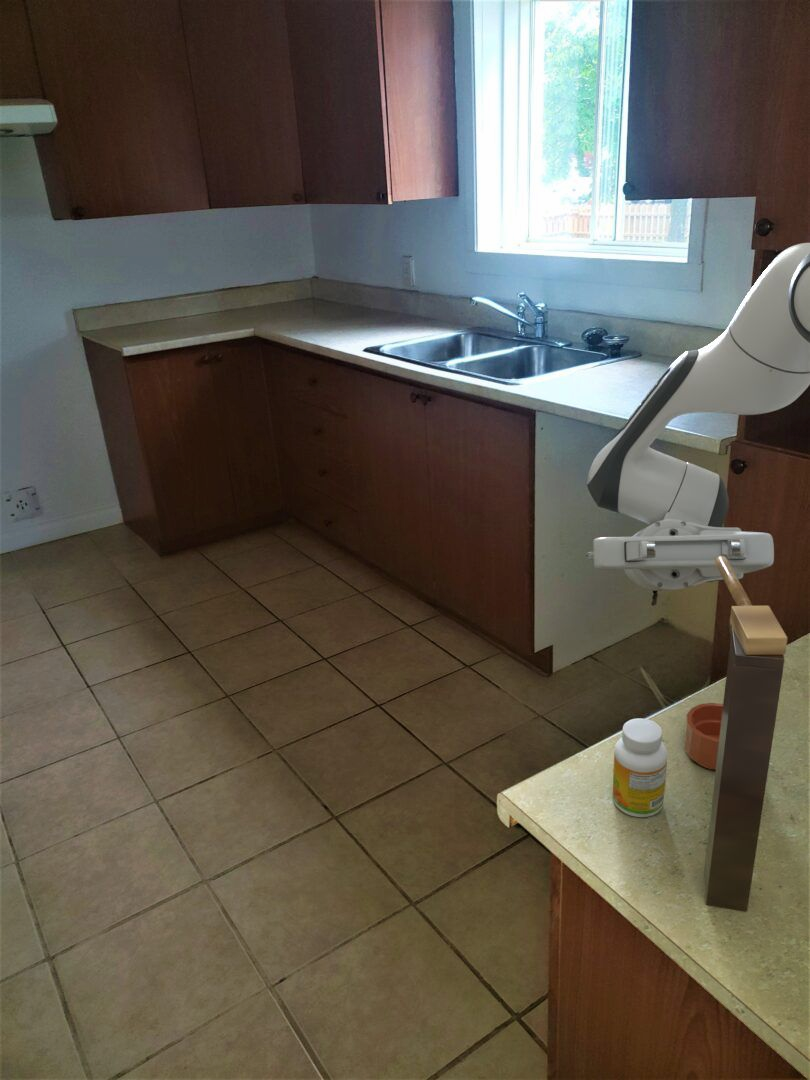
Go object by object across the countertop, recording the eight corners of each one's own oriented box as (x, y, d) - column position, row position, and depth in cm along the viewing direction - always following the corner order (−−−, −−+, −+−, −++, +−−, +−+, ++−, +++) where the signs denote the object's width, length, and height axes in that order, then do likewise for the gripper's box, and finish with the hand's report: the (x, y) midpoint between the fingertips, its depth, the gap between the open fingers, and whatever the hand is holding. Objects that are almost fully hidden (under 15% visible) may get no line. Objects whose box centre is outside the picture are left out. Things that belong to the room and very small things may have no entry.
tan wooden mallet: (785, 655, 64) (788, 637, 63) (745, 655, 64) (747, 638, 64) (735, 566, 77) (737, 551, 77) (702, 566, 78) (704, 551, 77)
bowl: (745, 737, 97) (749, 706, 95) (750, 777, 91) (755, 745, 89) (683, 730, 99) (686, 700, 97) (684, 769, 93) (687, 737, 91)
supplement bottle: (611, 781, 92) (614, 711, 88) (661, 785, 91) (667, 715, 87) (612, 816, 87) (616, 744, 83) (665, 821, 86) (671, 748, 82)
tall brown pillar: (741, 861, 81) (775, 619, 69) (747, 911, 75) (784, 659, 63) (703, 856, 82) (730, 616, 70) (705, 905, 76) (735, 655, 64)
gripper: (584, 532, 104) (595, 521, 91) (751, 528, 102) (788, 517, 88) (585, 581, 104) (596, 578, 90) (753, 578, 101) (791, 575, 87)
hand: (693, 548), depth 89 cm, fingers open, 8 cm apart
